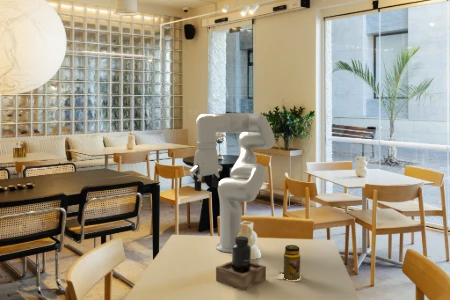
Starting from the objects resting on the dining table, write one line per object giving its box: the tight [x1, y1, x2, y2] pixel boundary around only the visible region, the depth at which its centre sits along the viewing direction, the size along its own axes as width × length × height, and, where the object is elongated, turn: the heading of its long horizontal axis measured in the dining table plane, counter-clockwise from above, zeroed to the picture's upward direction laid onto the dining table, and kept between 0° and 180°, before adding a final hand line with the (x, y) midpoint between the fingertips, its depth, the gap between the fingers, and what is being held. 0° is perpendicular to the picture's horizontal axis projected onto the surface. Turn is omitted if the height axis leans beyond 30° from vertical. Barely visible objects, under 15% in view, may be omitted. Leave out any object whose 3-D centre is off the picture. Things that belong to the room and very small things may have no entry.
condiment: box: [278, 244, 303, 280], centre depth 184 cm, size 7×8×12 cm
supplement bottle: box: [231, 235, 252, 272], centre depth 181 cm, size 7×7×12 cm
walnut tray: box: [215, 260, 267, 291], centre depth 181 cm, size 13×13×5 cm
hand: (206, 189), depth 197 cm, fingers open, 9 cm apart
